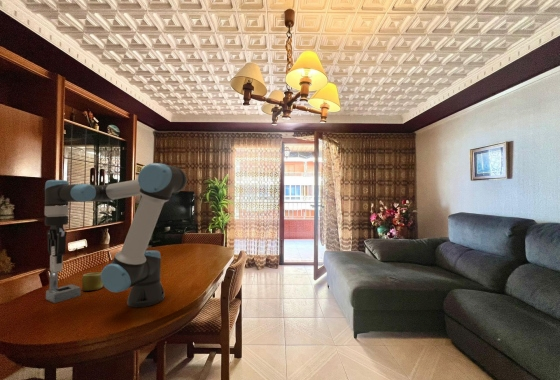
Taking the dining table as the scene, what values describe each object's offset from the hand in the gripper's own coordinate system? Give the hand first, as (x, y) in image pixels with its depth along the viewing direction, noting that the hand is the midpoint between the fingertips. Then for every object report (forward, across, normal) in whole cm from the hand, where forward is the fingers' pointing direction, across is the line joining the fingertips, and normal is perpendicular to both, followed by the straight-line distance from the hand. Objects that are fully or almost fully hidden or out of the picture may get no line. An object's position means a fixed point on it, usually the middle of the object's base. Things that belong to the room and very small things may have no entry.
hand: (56, 270), depth 104 cm
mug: (+17, +16, -22) cm, 32 cm away
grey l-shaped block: (+17, +20, -8) cm, 27 cm away
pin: (+1, 0, 0) cm, 1 cm away
